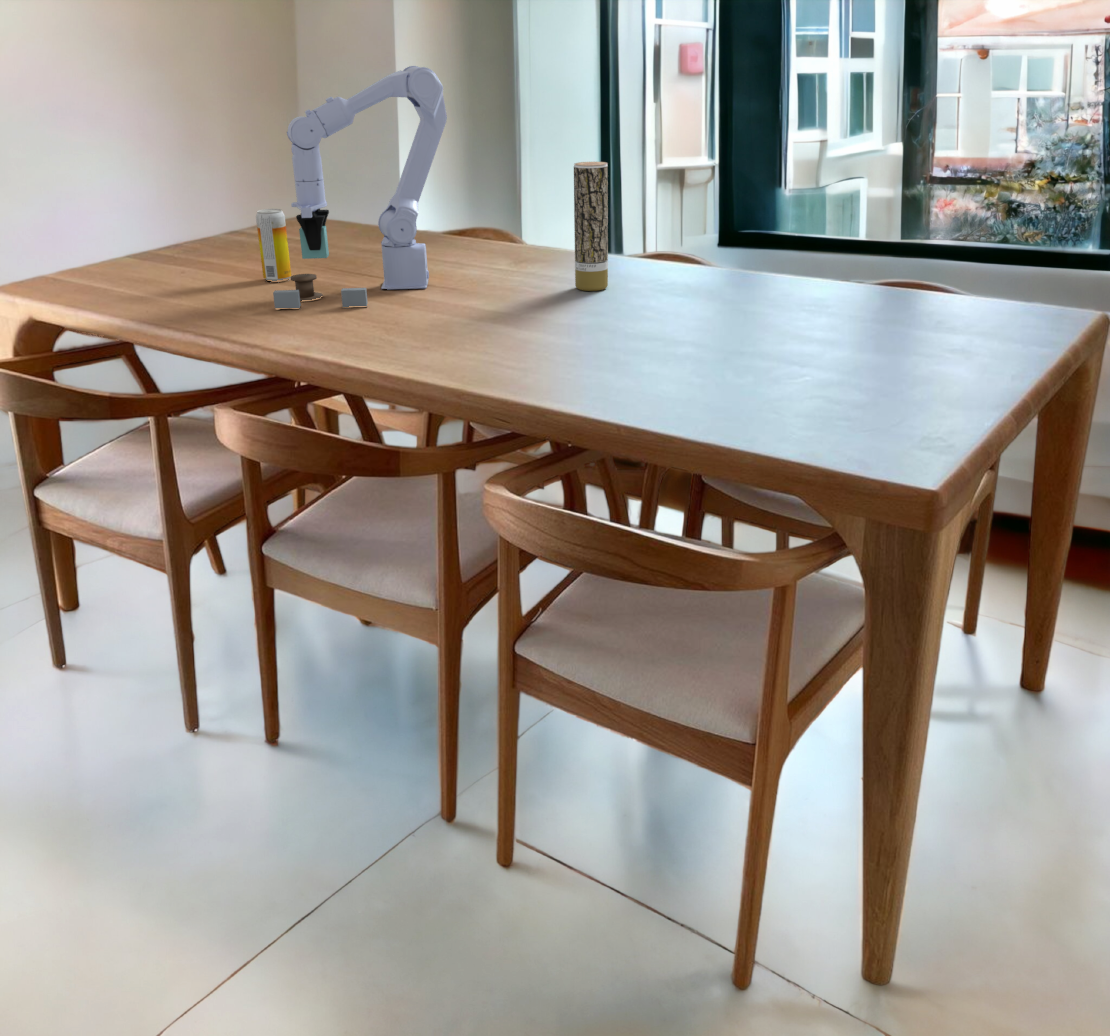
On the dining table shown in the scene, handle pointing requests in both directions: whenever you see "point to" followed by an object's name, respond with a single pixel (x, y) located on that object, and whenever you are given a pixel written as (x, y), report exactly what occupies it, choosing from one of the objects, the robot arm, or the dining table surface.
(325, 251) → the block
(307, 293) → the bobbin
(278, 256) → the beer can
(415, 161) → the robot arm
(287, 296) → the grey bricks
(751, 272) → the dining table surface
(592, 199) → the paper tube
